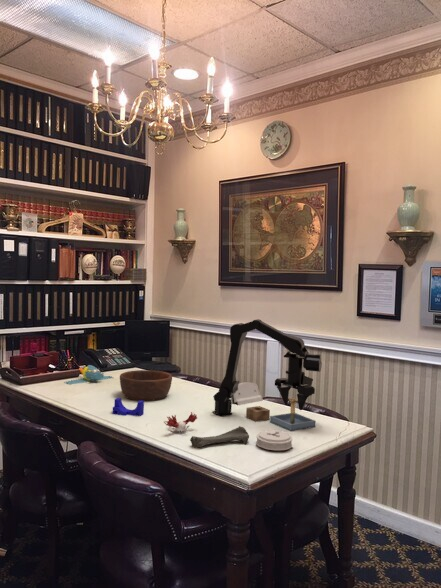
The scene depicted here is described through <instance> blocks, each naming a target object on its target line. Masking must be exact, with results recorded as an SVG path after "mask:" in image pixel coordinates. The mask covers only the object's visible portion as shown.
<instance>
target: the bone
mask: <svg viewBox="0 0 441 588" xmlns="http://www.w3.org/2000/svg"><path fill="white" fill-rule="evenodd" d="M249 439H250V435H249V433H248V431H247V429H246V428H245V427H244V426H240V425H239V426H238V427H236V428H234V429H233V428H232V429H231V430H229V431H226V432H224V433H221V434H218V435H212V436H204V437H201V436H195V435H194V436H193V435H192V436H191V438H189V441H190V443H191V446H192V447H193V448H202V447H203V446H206V445H208V444H209V445H210V444H220V443H229V442H232V441H233V442H234V441H242V442H243V444H244V445H246V444H247V443H248V442H249Z"/></svg>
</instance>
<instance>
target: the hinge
mask: <svg viewBox="0 0 441 588" xmlns="http://www.w3.org/2000/svg"><path fill="white" fill-rule="evenodd" d="M230 399H231V403H232V404H233V403H234V404H235V403H237V406H241V405H247V404H252V403H257V402H262V401H263V395H261V393H260V390H259V387H258V384H257V383H255V382H250V381H249V382H248V381H247V382H246V381H244V382H239V385H238V390H237V391H236V393H235V394H233V395H232V398H230Z"/></svg>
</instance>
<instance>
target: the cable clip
mask: <svg viewBox="0 0 441 588" xmlns="http://www.w3.org/2000/svg"><path fill="white" fill-rule="evenodd" d="M144 408H145V401H142V400H140V401H139V400H138V401H137V404H136V406H135V408H134V409H129V408H127V407H125V406H124V404H123V402H122V398H121V397H116V398H115V399H114V405H113V407H112V415H117V416H127V415H128V416H136V417H142V416H143V415H144V411H145V409H144Z"/></svg>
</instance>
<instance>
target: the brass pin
mask: <svg viewBox="0 0 441 588" xmlns="http://www.w3.org/2000/svg"><path fill="white" fill-rule="evenodd" d="M288 402H289V403H290V413H291V416H290V423H292V424H294V423H295V413H296V402H297V403H298V398H295V397H288Z"/></svg>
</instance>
